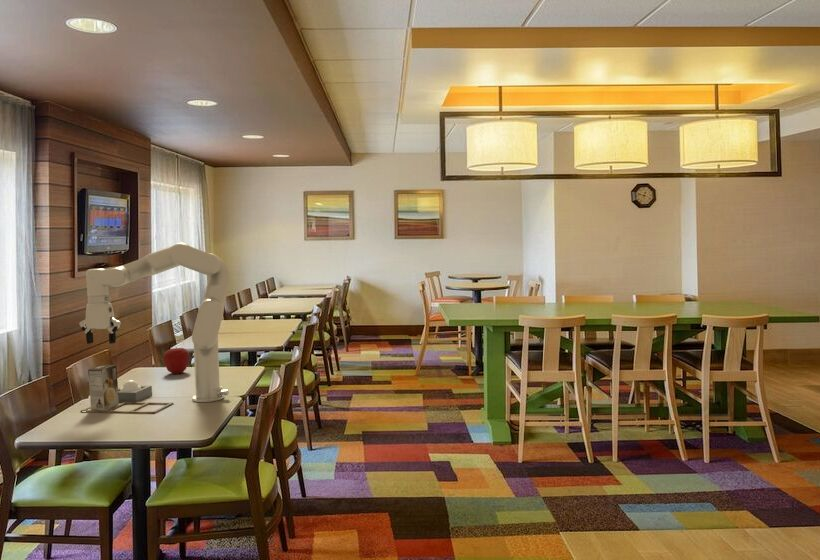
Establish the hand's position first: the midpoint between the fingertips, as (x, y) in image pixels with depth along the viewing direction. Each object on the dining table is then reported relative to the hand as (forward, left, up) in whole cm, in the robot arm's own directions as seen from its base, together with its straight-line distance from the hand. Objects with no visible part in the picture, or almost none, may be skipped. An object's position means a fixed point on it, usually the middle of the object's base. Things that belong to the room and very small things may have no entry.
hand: (101, 343), depth 258 cm
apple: (+4, -64, -26) cm, 69 cm away
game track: (-10, 0, -26) cm, 28 cm away
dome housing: (-2, -15, -26) cm, 30 cm away
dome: (-2, -15, -24) cm, 28 cm away
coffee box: (0, 0, -26) cm, 26 cm away
